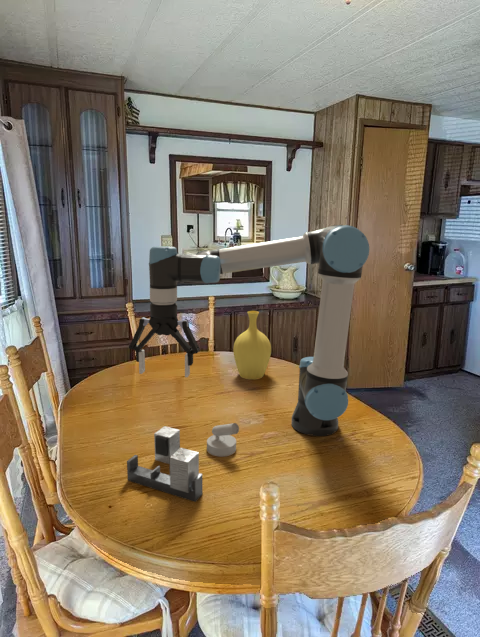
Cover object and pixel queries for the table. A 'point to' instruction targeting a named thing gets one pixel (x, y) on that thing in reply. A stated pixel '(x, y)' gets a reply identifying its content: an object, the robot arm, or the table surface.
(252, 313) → the vase
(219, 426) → the wall hook
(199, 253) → the robot arm
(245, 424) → the table surface
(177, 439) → the light grey block
